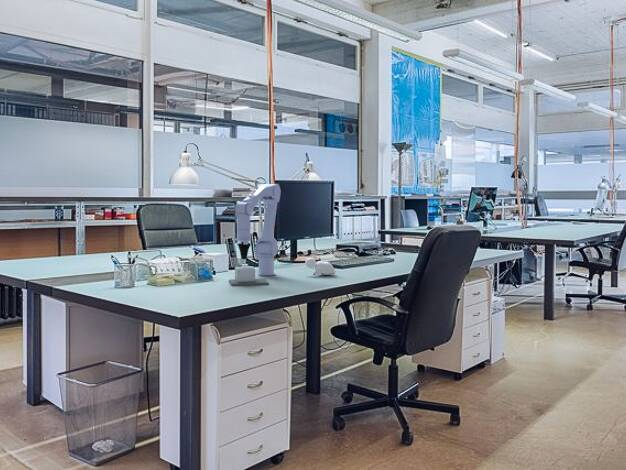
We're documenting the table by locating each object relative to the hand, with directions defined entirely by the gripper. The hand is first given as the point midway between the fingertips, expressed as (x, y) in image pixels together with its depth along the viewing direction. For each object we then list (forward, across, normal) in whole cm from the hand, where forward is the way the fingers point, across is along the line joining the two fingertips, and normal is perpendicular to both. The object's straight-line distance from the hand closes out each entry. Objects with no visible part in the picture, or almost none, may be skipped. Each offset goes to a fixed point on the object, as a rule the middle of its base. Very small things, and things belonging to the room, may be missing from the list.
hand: (244, 259), depth 264 cm
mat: (+10, +8, +1) cm, 13 cm away
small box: (+6, 0, 0) cm, 6 cm away
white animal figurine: (+10, -9, +38) cm, 40 cm away
